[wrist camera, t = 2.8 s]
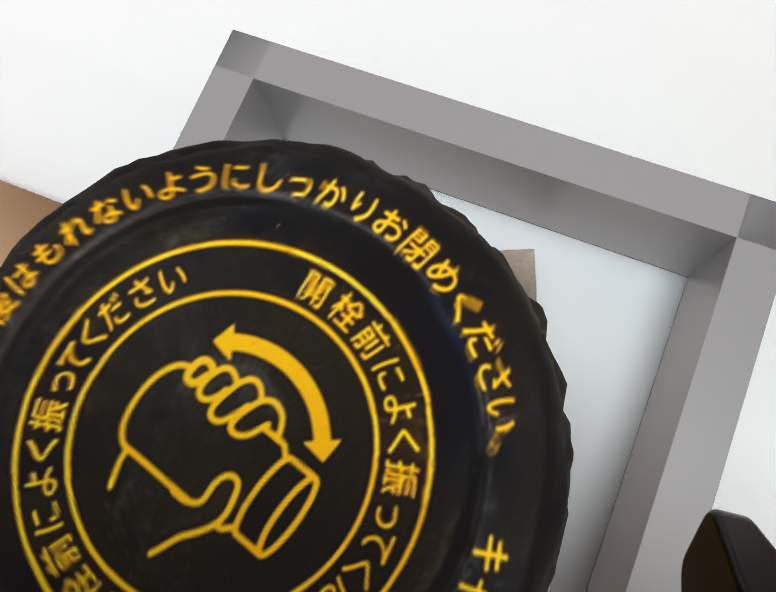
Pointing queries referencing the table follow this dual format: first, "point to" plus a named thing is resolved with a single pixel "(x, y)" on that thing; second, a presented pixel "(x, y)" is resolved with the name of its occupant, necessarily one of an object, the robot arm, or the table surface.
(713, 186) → the parts tub
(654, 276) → the table surface
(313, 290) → the condiment
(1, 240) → the walnut board
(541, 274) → the table surface
